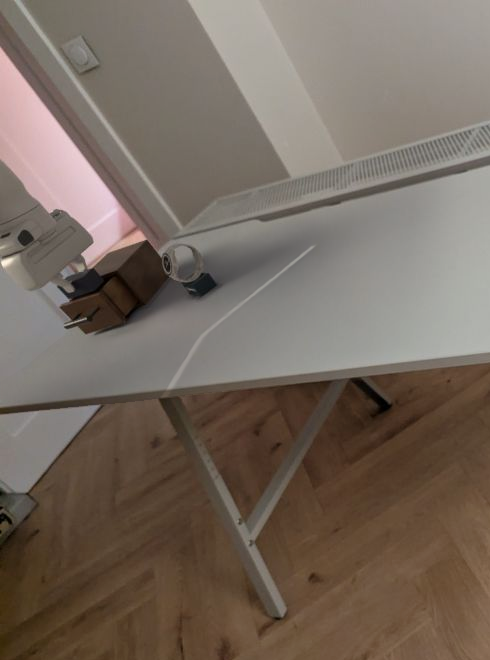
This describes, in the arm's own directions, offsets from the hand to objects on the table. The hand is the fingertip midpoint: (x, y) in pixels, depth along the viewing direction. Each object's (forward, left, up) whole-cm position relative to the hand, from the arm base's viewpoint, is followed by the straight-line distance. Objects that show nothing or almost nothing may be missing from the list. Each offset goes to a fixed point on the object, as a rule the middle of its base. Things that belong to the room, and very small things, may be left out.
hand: (80, 283), depth 115 cm
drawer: (0, +1, -10) cm, 10 cm away
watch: (+22, +3, -11) cm, 25 cm away
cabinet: (0, +12, -11) cm, 16 cm away
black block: (0, 0, -2) cm, 2 cm away
